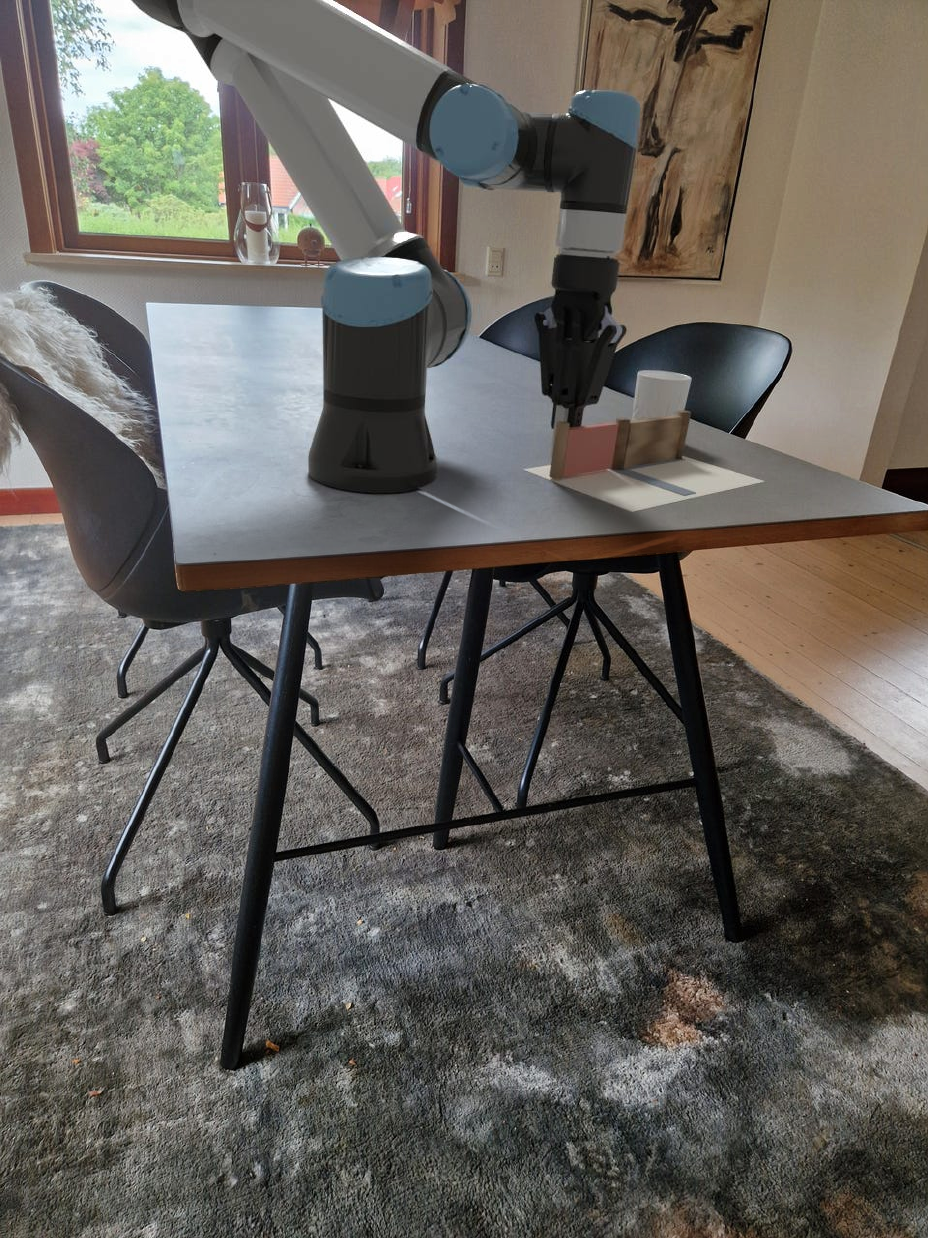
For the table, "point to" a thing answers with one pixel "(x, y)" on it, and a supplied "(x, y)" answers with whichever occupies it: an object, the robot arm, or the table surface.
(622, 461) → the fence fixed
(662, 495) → the board
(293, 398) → the table surface
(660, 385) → the white cup
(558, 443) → the fence gate
